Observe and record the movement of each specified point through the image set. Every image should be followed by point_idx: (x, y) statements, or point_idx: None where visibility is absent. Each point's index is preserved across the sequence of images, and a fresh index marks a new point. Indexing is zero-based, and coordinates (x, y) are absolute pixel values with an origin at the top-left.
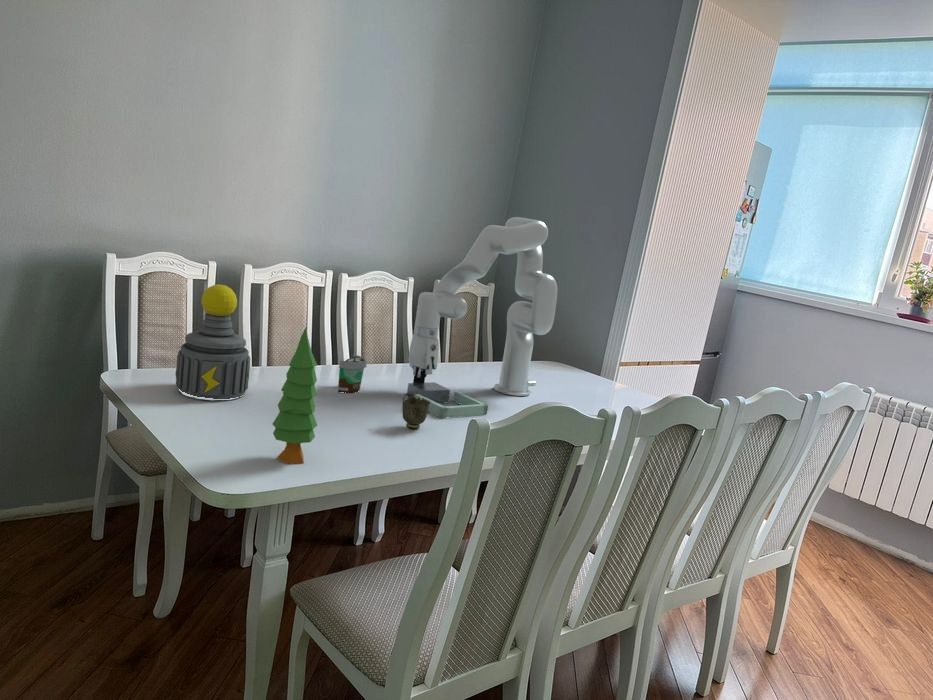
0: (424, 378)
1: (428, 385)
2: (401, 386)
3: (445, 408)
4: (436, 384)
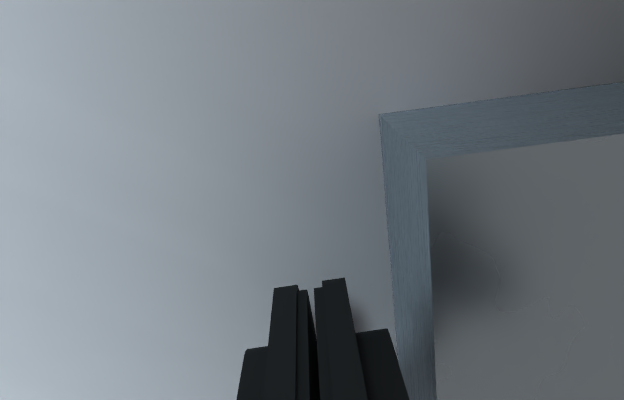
0: (364, 389)
1: (609, 378)
2: (14, 350)
3: None
4: (581, 199)
